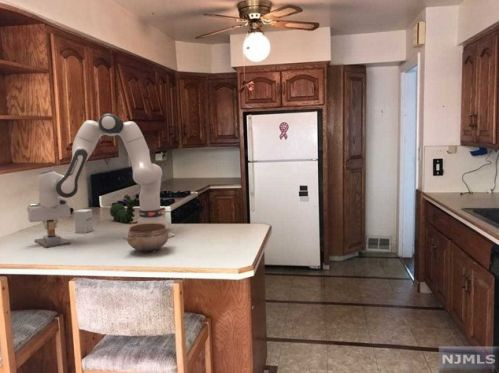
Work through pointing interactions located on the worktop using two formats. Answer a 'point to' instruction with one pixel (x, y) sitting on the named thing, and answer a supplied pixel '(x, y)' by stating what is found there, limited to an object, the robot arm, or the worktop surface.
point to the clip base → (51, 241)
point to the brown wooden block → (50, 227)
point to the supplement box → (83, 221)
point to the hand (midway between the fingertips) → (50, 228)
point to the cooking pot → (147, 236)
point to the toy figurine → (123, 211)
